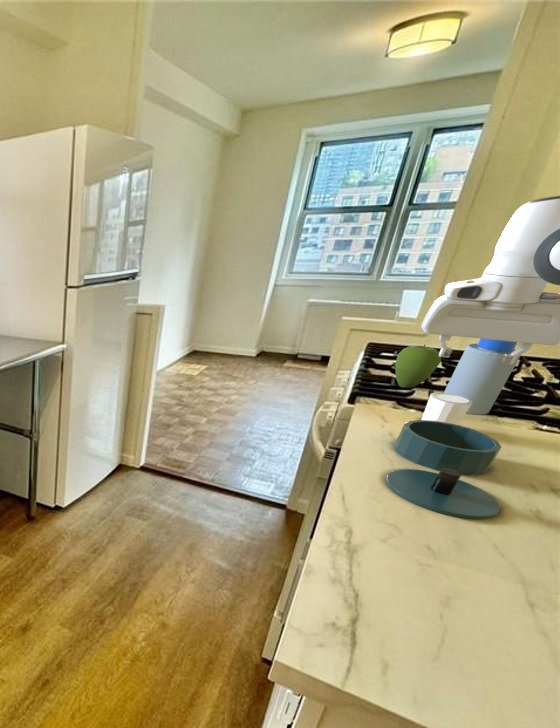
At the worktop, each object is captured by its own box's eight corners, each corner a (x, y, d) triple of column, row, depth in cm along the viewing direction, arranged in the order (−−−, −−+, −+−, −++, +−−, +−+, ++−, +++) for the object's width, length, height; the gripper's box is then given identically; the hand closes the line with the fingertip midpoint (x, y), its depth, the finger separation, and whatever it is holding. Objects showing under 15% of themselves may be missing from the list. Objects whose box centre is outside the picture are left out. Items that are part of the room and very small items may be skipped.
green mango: (429, 394, 124) (450, 351, 118) (387, 388, 128) (406, 346, 123) (423, 384, 130) (443, 342, 125) (384, 379, 134) (402, 338, 129)
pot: (477, 454, 96) (491, 430, 94) (493, 485, 86) (509, 459, 84) (390, 437, 103) (401, 414, 100) (396, 464, 93) (408, 439, 91)
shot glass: (461, 428, 107) (477, 399, 103) (451, 436, 103) (467, 406, 100) (422, 418, 112) (436, 389, 108) (411, 425, 108) (425, 396, 105)
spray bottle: (441, 409, 116) (495, 302, 104) (436, 397, 122) (486, 296, 111) (492, 417, 111) (555, 307, 100) (484, 405, 118) (542, 300, 106)
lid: (485, 490, 85) (500, 465, 83) (506, 533, 74) (524, 506, 72) (381, 467, 92) (392, 443, 90) (387, 503, 82) (399, 478, 79)
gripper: (582, 292, 90) (542, 364, 96) (436, 283, 100) (409, 349, 107) (595, 297, 85) (552, 372, 91) (441, 288, 96) (412, 356, 102)
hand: (474, 360), depth 99 cm, fingers open, 8 cm apart
